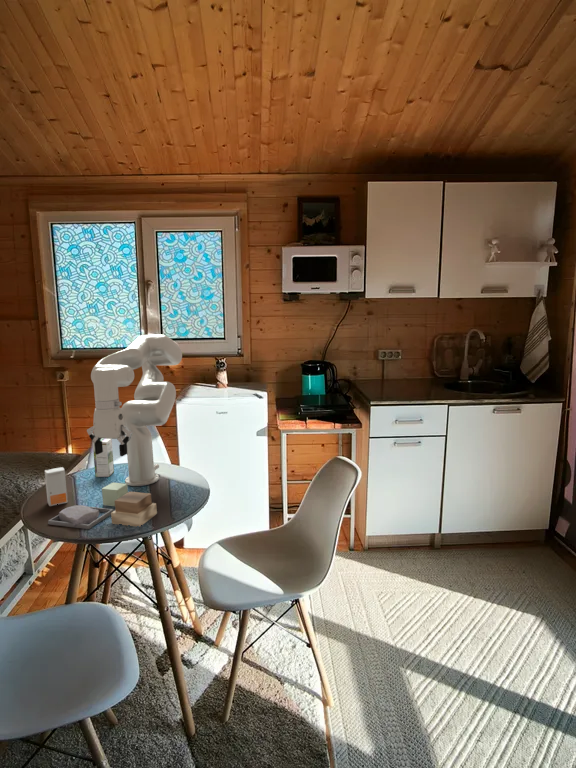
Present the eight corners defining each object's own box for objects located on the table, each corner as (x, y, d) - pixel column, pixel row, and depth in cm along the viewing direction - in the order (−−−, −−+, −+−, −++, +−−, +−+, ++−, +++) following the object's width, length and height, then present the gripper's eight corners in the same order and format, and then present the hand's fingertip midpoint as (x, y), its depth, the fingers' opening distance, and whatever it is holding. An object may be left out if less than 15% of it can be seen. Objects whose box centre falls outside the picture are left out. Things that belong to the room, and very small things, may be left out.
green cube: (113, 498, 180) (112, 482, 179) (128, 500, 178) (127, 483, 177) (103, 505, 174) (101, 488, 173) (118, 506, 173) (116, 490, 172)
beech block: (130, 512, 169) (129, 500, 168) (157, 514, 166) (156, 503, 166) (112, 524, 160) (110, 512, 159) (139, 528, 157) (138, 516, 156)
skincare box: (49, 507, 174) (45, 473, 172) (47, 503, 177) (43, 470, 176) (68, 502, 177) (65, 469, 175) (66, 499, 181) (62, 466, 179)
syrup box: (100, 472, 208) (97, 438, 206) (114, 472, 208) (111, 437, 206) (95, 477, 203) (91, 442, 200) (109, 477, 202) (106, 441, 200)
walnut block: (130, 501, 168) (129, 491, 167) (151, 503, 165) (151, 493, 165) (115, 511, 160) (114, 500, 160) (137, 513, 158) (136, 503, 157)
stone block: (85, 517, 171) (55, 522, 164) (86, 503, 171) (56, 507, 164) (104, 525, 164) (74, 530, 156) (105, 510, 164) (75, 514, 156)
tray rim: (75, 508, 172) (75, 505, 172) (113, 512, 168) (113, 509, 168) (48, 524, 160) (48, 520, 160) (88, 529, 156) (88, 525, 156)
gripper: (136, 403, 172) (139, 452, 174) (92, 402, 177) (96, 449, 179) (123, 407, 164) (126, 459, 167) (78, 406, 169) (82, 455, 172)
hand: (111, 454), depth 173 cm, fingers open, 9 cm apart
